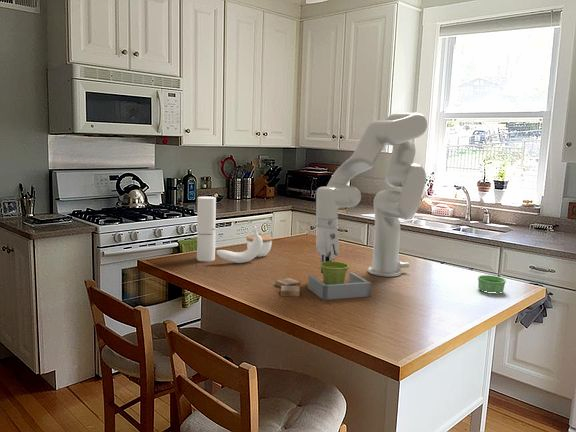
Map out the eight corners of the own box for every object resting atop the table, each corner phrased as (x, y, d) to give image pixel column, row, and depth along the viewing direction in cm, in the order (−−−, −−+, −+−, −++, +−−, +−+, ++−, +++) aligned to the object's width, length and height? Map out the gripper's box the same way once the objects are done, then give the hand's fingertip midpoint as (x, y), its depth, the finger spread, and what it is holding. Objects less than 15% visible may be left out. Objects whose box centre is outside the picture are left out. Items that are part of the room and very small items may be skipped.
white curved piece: (215, 263, 202) (215, 226, 200) (258, 259, 212) (259, 223, 210) (220, 266, 198) (220, 228, 196) (264, 261, 208) (265, 225, 206)
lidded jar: (240, 255, 218) (241, 233, 216) (256, 251, 226) (257, 230, 225) (261, 259, 212) (261, 236, 210) (276, 255, 220) (277, 233, 219)
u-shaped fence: (351, 284, 180) (352, 272, 179) (370, 296, 168) (371, 282, 167) (308, 287, 174) (308, 274, 174) (323, 300, 162) (324, 286, 161)
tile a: (289, 283, 180) (289, 277, 180) (300, 287, 176) (300, 282, 176) (275, 286, 177) (275, 280, 176) (286, 290, 172) (286, 284, 172)
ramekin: (487, 295, 174) (488, 282, 173) (471, 287, 182) (472, 275, 182) (510, 294, 176) (511, 281, 176) (493, 286, 185) (494, 274, 184)
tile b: (299, 292, 171) (299, 286, 171) (299, 297, 165) (299, 291, 165) (281, 291, 171) (281, 285, 171) (280, 296, 165) (280, 290, 165)
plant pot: (345, 295, 168) (346, 269, 166) (316, 292, 170) (317, 266, 169) (349, 287, 177) (350, 262, 175) (322, 284, 179) (323, 260, 178)
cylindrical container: (218, 259, 210) (219, 197, 206) (206, 262, 204) (207, 199, 200) (205, 256, 213) (205, 196, 210) (193, 259, 207) (193, 197, 204)
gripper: (346, 225, 174) (345, 278, 177) (327, 218, 188) (327, 267, 191) (325, 227, 172) (324, 280, 175) (308, 219, 185) (308, 269, 189)
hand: (326, 273), depth 183 cm, fingers closed
